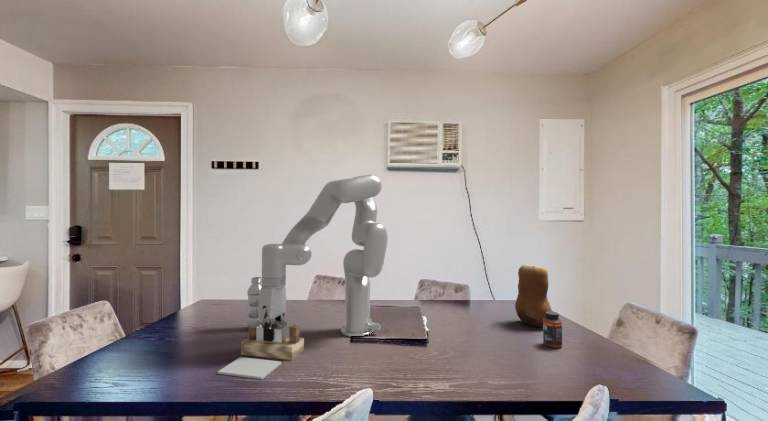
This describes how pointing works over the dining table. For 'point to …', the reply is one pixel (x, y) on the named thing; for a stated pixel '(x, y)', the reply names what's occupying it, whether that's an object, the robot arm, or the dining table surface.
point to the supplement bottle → (552, 330)
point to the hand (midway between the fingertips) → (273, 337)
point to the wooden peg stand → (274, 345)
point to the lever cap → (275, 332)
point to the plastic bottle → (254, 302)
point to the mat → (250, 368)
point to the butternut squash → (532, 294)
